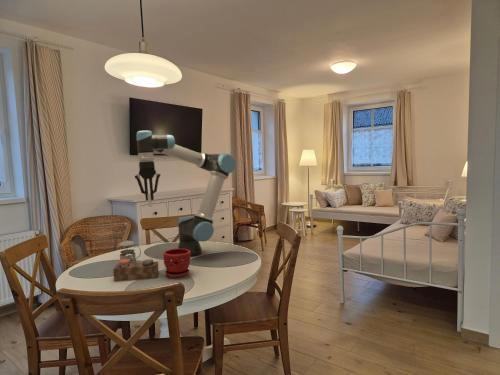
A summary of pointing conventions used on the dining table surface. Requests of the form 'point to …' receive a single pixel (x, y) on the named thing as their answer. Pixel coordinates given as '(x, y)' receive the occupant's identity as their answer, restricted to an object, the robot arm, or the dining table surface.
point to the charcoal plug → (147, 262)
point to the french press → (125, 252)
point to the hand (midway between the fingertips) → (150, 206)
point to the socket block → (135, 271)
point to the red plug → (124, 262)
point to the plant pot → (177, 262)
